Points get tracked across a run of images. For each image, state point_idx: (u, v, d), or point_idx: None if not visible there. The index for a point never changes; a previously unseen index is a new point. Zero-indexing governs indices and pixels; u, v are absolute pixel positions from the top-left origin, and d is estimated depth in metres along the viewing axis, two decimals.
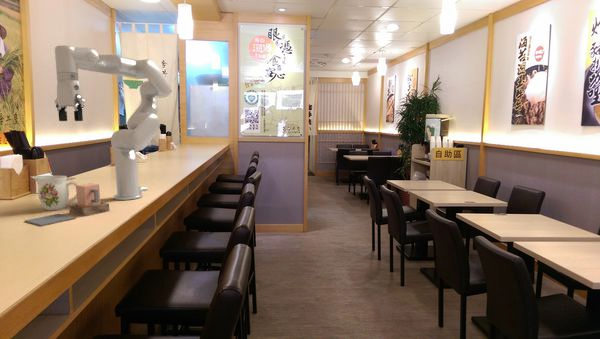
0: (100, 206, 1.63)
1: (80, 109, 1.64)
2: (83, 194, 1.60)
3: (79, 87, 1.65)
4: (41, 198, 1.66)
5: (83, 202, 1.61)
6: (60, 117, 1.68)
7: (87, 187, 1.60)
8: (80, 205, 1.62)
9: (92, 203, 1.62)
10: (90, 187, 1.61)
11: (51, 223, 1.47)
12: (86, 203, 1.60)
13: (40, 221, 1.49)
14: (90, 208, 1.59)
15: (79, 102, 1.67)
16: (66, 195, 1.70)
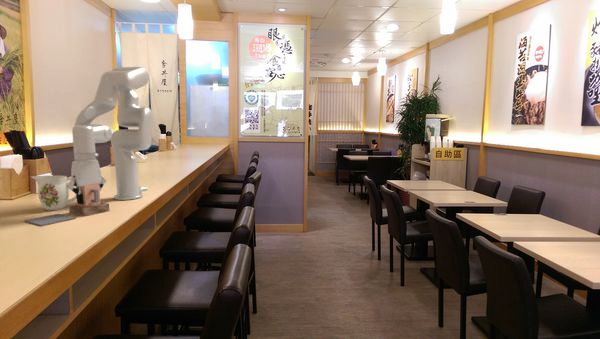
0: (100, 206, 1.63)
1: None
2: (83, 194, 1.60)
3: None
4: (41, 198, 1.66)
5: None
6: None
7: (87, 187, 1.60)
8: (80, 205, 1.62)
9: (92, 203, 1.62)
10: (90, 187, 1.61)
11: (51, 223, 1.47)
12: (86, 203, 1.60)
13: (40, 221, 1.49)
14: (90, 208, 1.59)
15: None
16: (66, 195, 1.70)
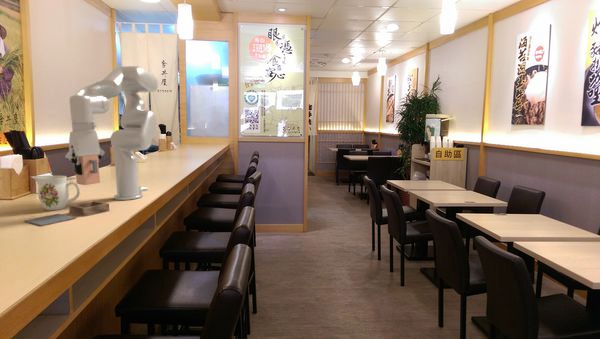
0: (100, 206, 1.63)
1: None
2: (82, 164, 1.59)
3: None
4: (41, 198, 1.66)
5: (82, 172, 1.60)
6: (81, 171, 1.60)
7: (85, 157, 1.59)
8: (79, 176, 1.61)
9: (91, 174, 1.61)
10: (88, 158, 1.60)
11: (51, 223, 1.47)
12: (85, 174, 1.59)
13: (40, 221, 1.49)
14: (90, 208, 1.59)
15: None
16: (66, 195, 1.70)
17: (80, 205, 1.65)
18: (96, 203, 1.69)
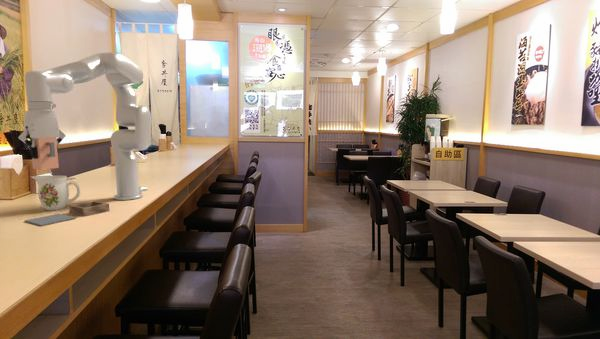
0: (100, 206, 1.63)
1: None
2: (38, 147, 1.45)
3: None
4: (41, 198, 1.66)
5: None
6: (37, 154, 1.46)
7: (42, 139, 1.45)
8: (35, 160, 1.47)
9: (48, 158, 1.47)
10: (45, 140, 1.46)
11: (51, 223, 1.47)
12: (41, 157, 1.45)
13: (40, 221, 1.49)
14: (90, 208, 1.59)
15: None
16: (66, 195, 1.70)
17: (80, 205, 1.65)
18: (96, 203, 1.69)
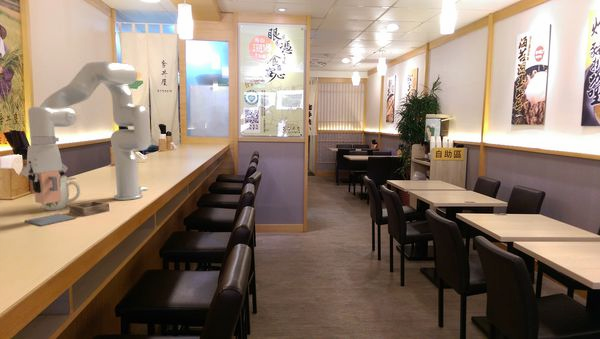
0: (100, 206, 1.63)
1: None
2: (40, 181, 1.46)
3: None
4: None
5: None
6: None
7: (44, 174, 1.47)
8: (37, 194, 1.49)
9: (50, 192, 1.49)
10: (48, 174, 1.48)
11: (51, 223, 1.47)
12: (43, 191, 1.47)
13: (40, 221, 1.49)
14: (90, 208, 1.59)
15: None
16: (66, 195, 1.70)
17: (80, 205, 1.65)
18: (96, 203, 1.69)
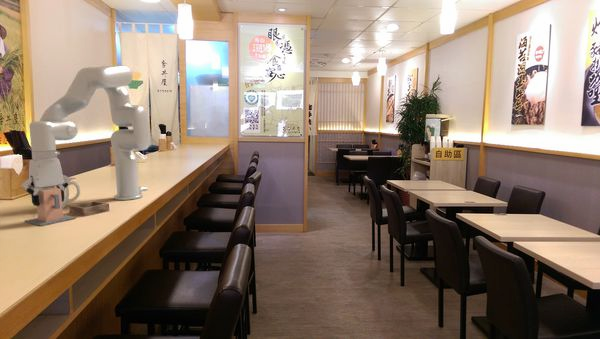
0: (100, 206, 1.63)
1: None
2: (43, 199, 1.48)
3: None
4: None
5: (42, 208, 1.48)
6: (38, 201, 1.47)
7: (47, 192, 1.48)
8: (40, 211, 1.50)
9: (53, 209, 1.50)
10: (50, 192, 1.49)
11: (51, 223, 1.47)
12: (46, 209, 1.48)
13: (40, 221, 1.49)
14: (90, 208, 1.59)
15: None
16: (66, 195, 1.70)
17: (80, 205, 1.65)
18: (96, 203, 1.69)
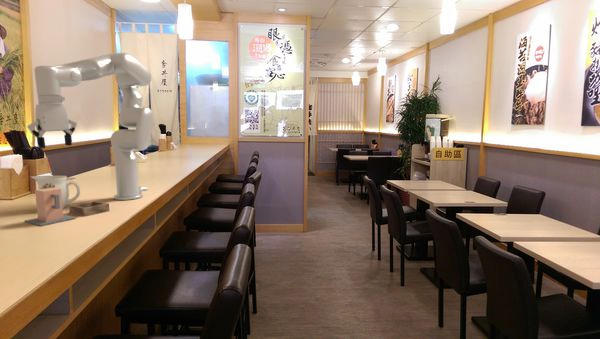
0: (100, 206, 1.63)
1: None
2: (43, 199, 1.48)
3: None
4: None
5: (43, 208, 1.48)
6: None
7: (47, 192, 1.48)
8: (40, 211, 1.50)
9: (53, 209, 1.50)
10: (50, 192, 1.49)
11: (51, 223, 1.47)
12: (46, 209, 1.48)
13: (40, 221, 1.49)
14: (90, 208, 1.59)
15: None
16: (66, 195, 1.70)
17: (80, 205, 1.65)
18: (96, 203, 1.69)
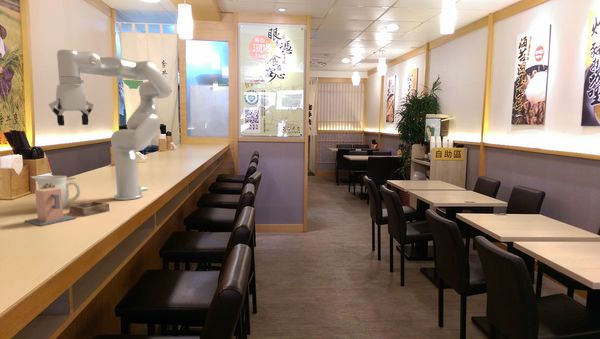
0: (100, 206, 1.63)
1: None
2: (43, 199, 1.48)
3: None
4: None
5: (43, 208, 1.48)
6: (63, 121, 1.62)
7: (47, 192, 1.48)
8: (40, 211, 1.50)
9: (53, 209, 1.50)
10: (50, 192, 1.49)
11: (51, 223, 1.47)
12: (46, 209, 1.48)
13: (40, 221, 1.49)
14: (90, 208, 1.59)
15: None
16: (66, 195, 1.70)
17: (80, 205, 1.65)
18: (96, 203, 1.69)
